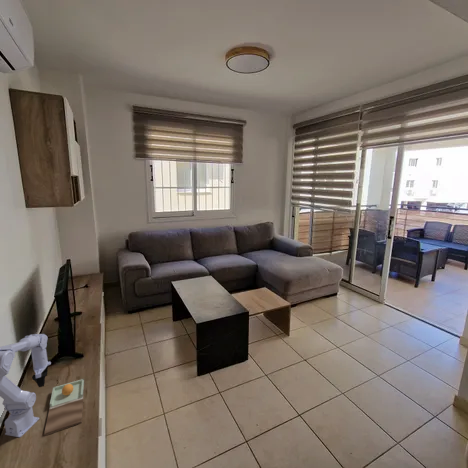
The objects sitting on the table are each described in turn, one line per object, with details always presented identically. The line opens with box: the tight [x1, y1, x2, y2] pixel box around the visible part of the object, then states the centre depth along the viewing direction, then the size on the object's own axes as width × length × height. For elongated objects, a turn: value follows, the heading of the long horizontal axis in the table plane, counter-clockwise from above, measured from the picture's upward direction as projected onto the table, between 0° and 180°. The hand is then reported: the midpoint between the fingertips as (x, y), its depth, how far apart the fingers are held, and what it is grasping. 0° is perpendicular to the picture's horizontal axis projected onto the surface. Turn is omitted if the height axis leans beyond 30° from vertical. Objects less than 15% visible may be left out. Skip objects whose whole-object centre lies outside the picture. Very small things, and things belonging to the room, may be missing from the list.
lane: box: [43, 388, 85, 437], centre depth 127 cm, size 27×14×1 cm, turn 27°
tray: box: [49, 378, 85, 408], centre depth 134 cm, size 12×14×2 cm
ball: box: [62, 383, 73, 395], centre depth 133 cm, size 5×5×5 cm
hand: (43, 381), depth 131 cm, fingers open, 7 cm apart
